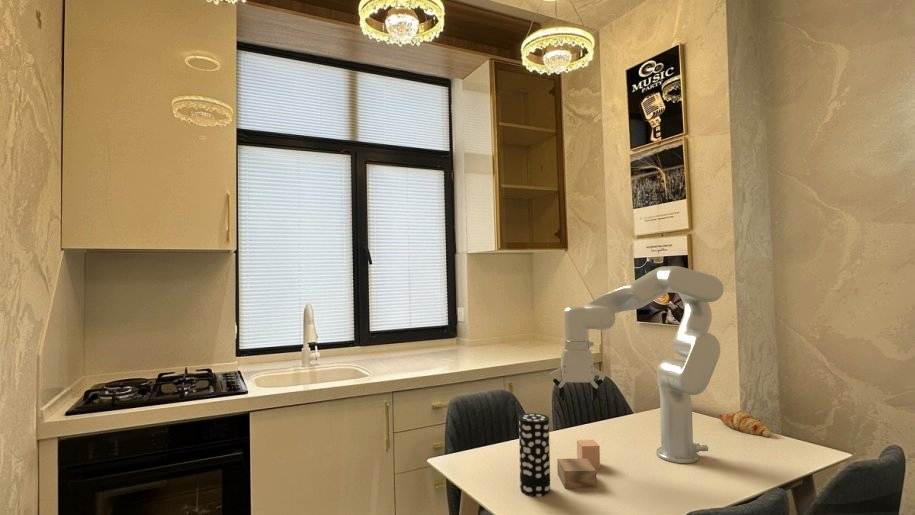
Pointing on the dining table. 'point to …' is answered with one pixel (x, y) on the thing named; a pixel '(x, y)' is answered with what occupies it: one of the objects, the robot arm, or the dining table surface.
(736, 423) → the croissant
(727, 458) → the dining table surface
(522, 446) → the white-spotted black cylinder
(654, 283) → the robot arm
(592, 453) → the peach matte cube
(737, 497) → the dining table surface
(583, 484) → the walnut block
